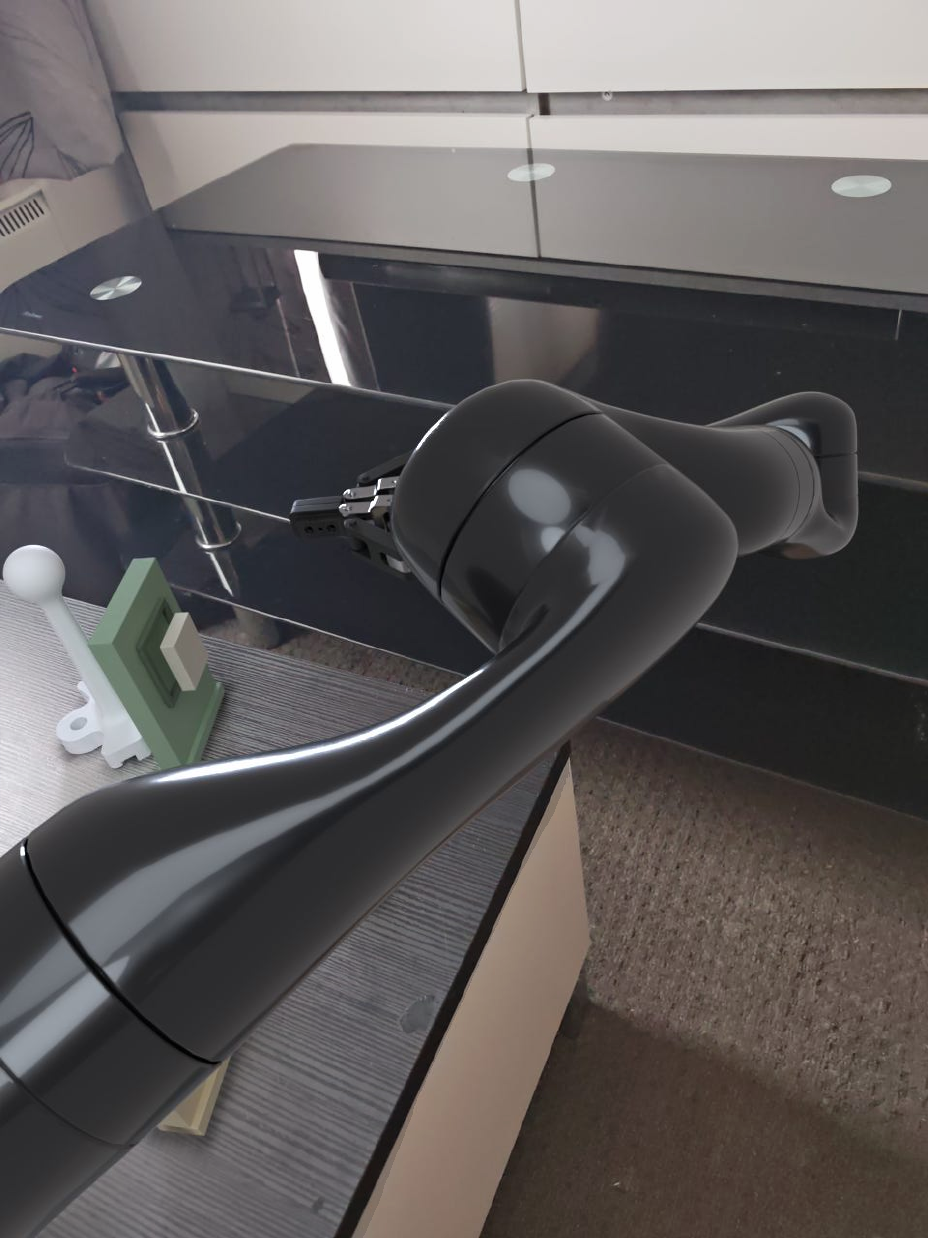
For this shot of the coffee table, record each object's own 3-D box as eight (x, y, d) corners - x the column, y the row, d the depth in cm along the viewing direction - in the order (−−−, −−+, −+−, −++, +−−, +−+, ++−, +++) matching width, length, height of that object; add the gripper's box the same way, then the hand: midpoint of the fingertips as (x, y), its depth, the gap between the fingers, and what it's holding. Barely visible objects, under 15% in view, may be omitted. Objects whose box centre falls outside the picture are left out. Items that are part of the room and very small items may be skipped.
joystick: (164, 748, 80) (63, 574, 67) (80, 790, 78) (-41, 619, 65) (132, 677, 88) (36, 507, 75) (55, 713, 86) (-58, 546, 73)
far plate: (225, 691, 85) (161, 556, 74) (194, 778, 77) (118, 642, 67) (195, 692, 85) (126, 559, 74) (161, 779, 78) (80, 645, 67)
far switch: (209, 655, 77) (188, 611, 74) (196, 690, 74) (173, 646, 71) (196, 656, 77) (174, 612, 74) (182, 691, 74) (159, 647, 71)
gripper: (537, 399, 64) (298, 423, 66) (533, 512, 54) (253, 535, 57) (547, 488, 69) (324, 507, 71) (545, 607, 59) (288, 623, 62)
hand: (293, 519), depth 64 cm, fingers closed
